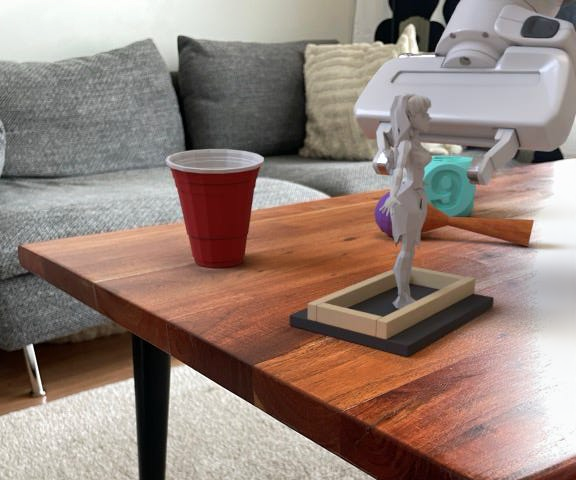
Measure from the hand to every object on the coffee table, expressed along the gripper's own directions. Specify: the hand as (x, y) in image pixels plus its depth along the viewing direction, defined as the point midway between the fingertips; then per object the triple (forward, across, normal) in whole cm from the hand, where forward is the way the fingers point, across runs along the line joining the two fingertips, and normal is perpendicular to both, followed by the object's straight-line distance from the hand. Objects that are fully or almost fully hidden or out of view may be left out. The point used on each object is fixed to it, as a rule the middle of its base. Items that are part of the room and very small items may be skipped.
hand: (426, 175), depth 64 cm
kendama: (-10, -10, +28) cm, 31 cm away
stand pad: (+11, 0, +6) cm, 13 cm away
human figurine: (+10, 0, +5) cm, 12 cm away
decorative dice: (-21, -19, +39) cm, 48 cm away
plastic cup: (+9, -26, +9) cm, 29 cm away
